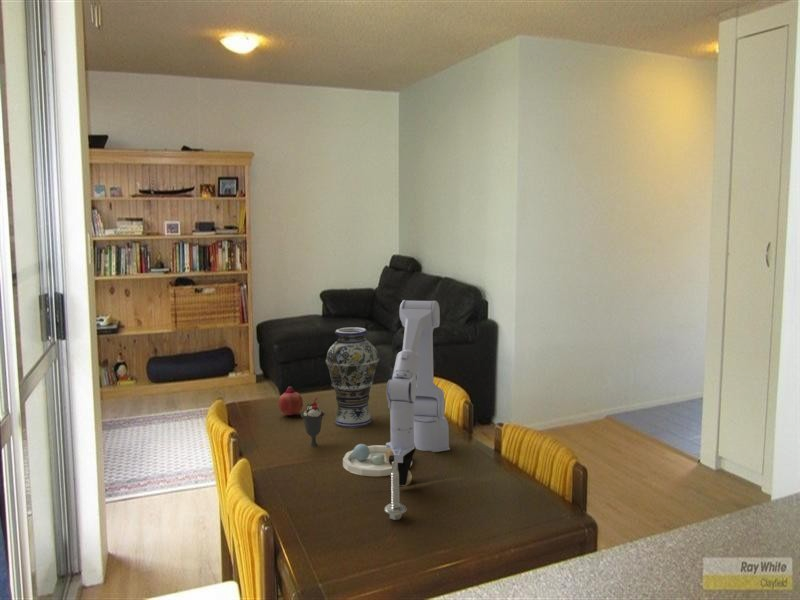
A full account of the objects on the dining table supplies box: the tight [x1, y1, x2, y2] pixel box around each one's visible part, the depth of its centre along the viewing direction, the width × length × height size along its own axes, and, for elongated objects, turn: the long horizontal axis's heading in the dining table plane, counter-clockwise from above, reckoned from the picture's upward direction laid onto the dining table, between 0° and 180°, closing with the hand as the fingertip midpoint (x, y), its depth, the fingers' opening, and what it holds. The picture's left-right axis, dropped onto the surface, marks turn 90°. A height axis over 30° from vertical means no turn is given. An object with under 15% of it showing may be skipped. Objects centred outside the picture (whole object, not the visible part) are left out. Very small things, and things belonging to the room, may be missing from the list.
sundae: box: [300, 397, 326, 448], centre depth 189 cm, size 7×7×15 cm
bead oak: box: [385, 448, 394, 463], centre depth 175 cm, size 4×4×4 cm
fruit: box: [277, 385, 304, 417], centre depth 220 cm, size 8×8×10 cm
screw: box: [384, 461, 407, 521], centre depth 145 cm, size 13×5×5 cm
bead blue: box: [352, 443, 370, 461], centre depth 177 cm, size 4×4×4 cm
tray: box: [342, 444, 413, 477], centre depth 176 cm, size 18×18×3 cm
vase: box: [325, 326, 380, 429], centre depth 211 cm, size 17×17×30 cm
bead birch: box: [399, 470, 413, 488], centre depth 162 cm, size 4×4×4 cm
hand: (402, 480), depth 162 cm, fingers closed on bead birch, 4 cm apart
